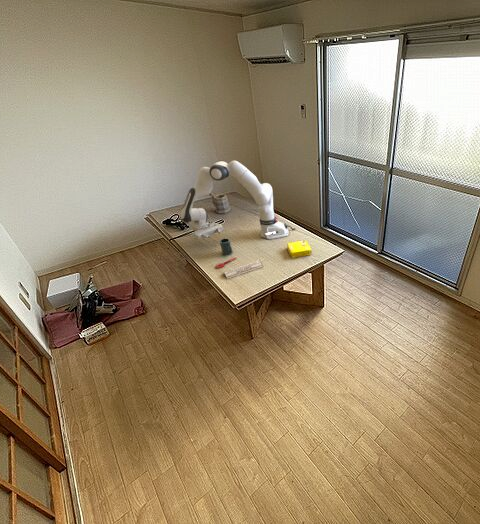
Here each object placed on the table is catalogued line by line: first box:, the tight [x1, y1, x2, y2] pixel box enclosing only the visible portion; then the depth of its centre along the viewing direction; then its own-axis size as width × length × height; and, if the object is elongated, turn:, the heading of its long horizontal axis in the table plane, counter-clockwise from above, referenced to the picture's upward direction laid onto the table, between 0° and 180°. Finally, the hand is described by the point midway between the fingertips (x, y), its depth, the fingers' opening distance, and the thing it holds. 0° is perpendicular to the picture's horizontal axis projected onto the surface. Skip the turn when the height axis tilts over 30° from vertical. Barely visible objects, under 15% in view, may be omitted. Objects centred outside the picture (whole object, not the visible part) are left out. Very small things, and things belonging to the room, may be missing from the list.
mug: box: [219, 237, 233, 256], centre depth 199 cm, size 10×7×10 cm
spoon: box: [215, 257, 237, 269], centre depth 191 cm, size 15×4×1 cm, turn 141°
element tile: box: [286, 239, 312, 259], centre depth 203 cm, size 15×15×5 cm
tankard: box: [208, 192, 231, 214], centre depth 260 cm, size 20×13×15 cm, turn 58°
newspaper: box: [223, 260, 263, 280], centre depth 184 cm, size 24×7×2 cm, turn 125°
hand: (214, 234), depth 203 cm, fingers open, 8 cm apart
